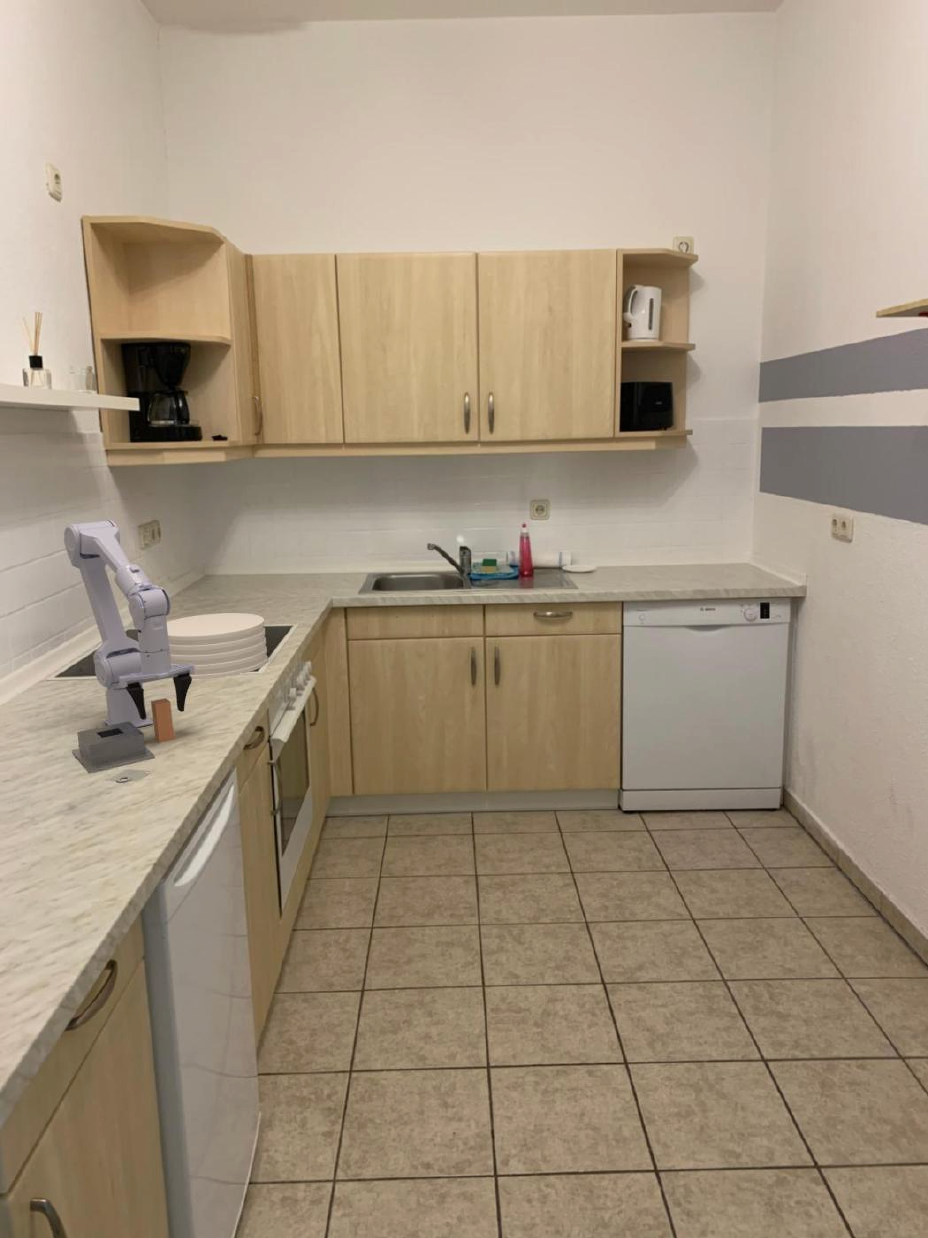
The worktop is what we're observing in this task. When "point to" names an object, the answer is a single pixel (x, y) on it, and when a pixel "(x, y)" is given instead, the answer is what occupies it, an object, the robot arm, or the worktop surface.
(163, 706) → the tan rectangular block
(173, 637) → the plate stack
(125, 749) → the slotted block
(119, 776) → the mounting bracket
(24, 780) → the worktop surface
